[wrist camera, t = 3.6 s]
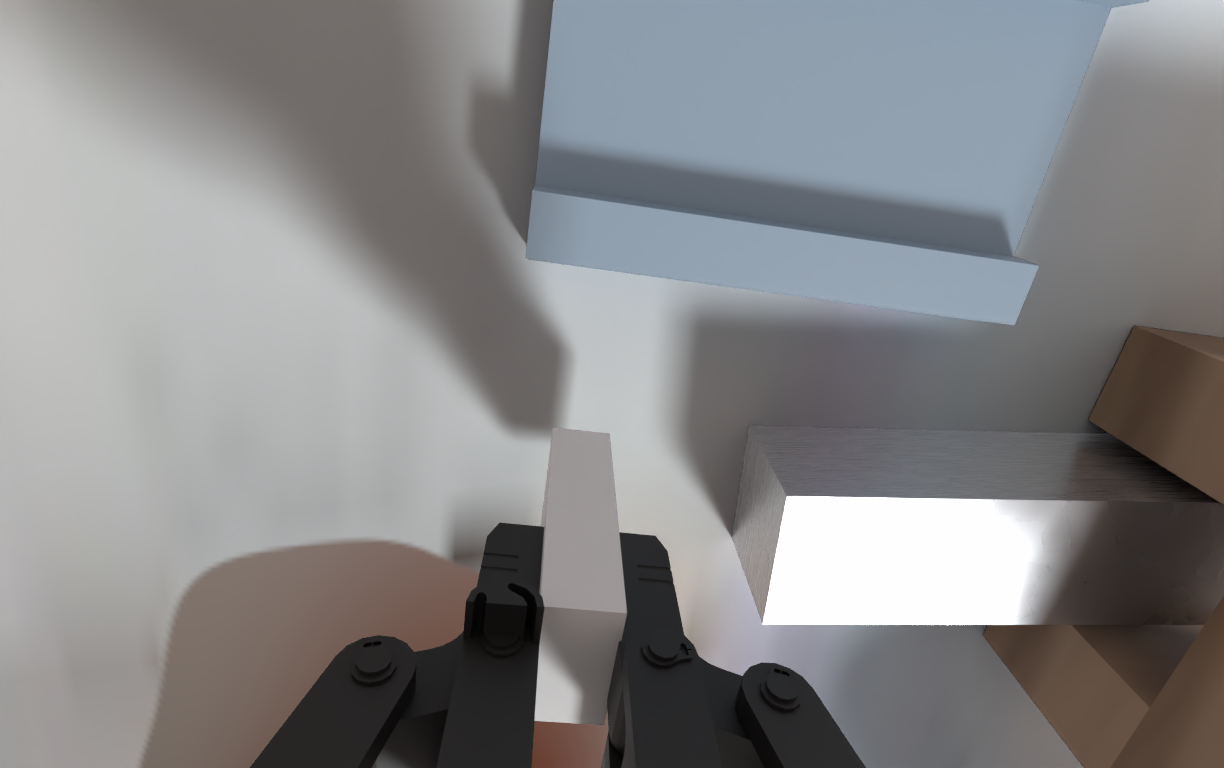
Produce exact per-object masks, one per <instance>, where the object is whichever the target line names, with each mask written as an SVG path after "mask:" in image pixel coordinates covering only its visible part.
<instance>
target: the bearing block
mask: <svg viewBox="0 0 1224 768" xmlns="http://www.w3.org/2000/svg"><path fill="white" fill-rule="evenodd" d="M1088 420H1089V421H1090V422H1092V423H1094V424H1095V425H1097V426H1098V427H1100V428H1102V429H1103V430H1105V431H1106V432H1108V433H1110V434H1111V435H1113V436H1114V437H1116V438H1118V439H1119V440H1121V441H1122V442H1124V443H1126V444H1127V445H1129V446H1130V447H1132V448H1134V449H1135V450H1137V451H1138V452H1140V453H1142V454H1143V455H1145V456H1146V457H1148V458H1150V459H1151V460H1153V461H1154V462H1156V463H1158V464H1159V465H1161V466H1163V467H1164V468H1166V469H1167V470H1169V471H1171V472H1172V473H1174V474H1175V475H1177V476H1179V477H1180V478H1182V479H1183V480H1185V481H1187V482H1188V483H1190V484H1191V485H1193V486H1195V487H1196V488H1198V489H1199V490H1201V491H1203V492H1204V493H1206V494H1207V495H1209V496H1211V497H1212V498H1214V499H1215V500H1217V501H1219V502H1220V503H1222V504H1223V505H1224V338H1219V337H1212V336H1205V335H1198V334H1191V333H1184V332H1177V331H1169V330H1162V329H1155V328H1148V327H1141V326H1134V327H1133V329H1132V331H1131V333H1130V335H1129V337H1128V339H1127V341H1126V343H1125V345H1124V347H1123V349H1122V351H1121V353H1120V355H1119V357H1118V360H1117V362H1116V364H1115V366H1114V368H1113V370H1112V372H1111V374H1110V376H1109V378H1108V380H1107V382H1106V384H1105V386H1104V388H1103V390H1102V392H1101V394H1100V396H1099V398H1098V400H1097V402H1096V405H1095V407H1094V409H1093V411H1092V413H1091V415H1090V417H1089V419H1088ZM983 636H984V637H985V639H986V640H987V641H988V643H989V644H990V645H991V647H992V648H993V649H994V650H995V652H996V653H997V654H998V656H999V657H1000V658H1001V660H1002V661H1003V662H1004V664H1005V665H1006V666H1007V668H1008V669H1009V670H1010V672H1011V673H1012V674H1013V675H1014V677H1015V678H1016V679H1017V681H1018V682H1019V683H1020V685H1021V686H1022V687H1023V689H1024V690H1025V691H1026V693H1027V694H1028V695H1029V696H1030V698H1031V699H1032V700H1033V702H1034V703H1035V704H1036V706H1037V707H1038V708H1039V710H1040V711H1041V712H1042V714H1043V715H1044V716H1045V718H1046V719H1047V720H1048V721H1049V723H1050V724H1051V725H1052V727H1053V728H1054V729H1055V731H1056V732H1057V733H1058V735H1059V736H1060V737H1061V739H1062V740H1063V741H1064V742H1065V744H1066V745H1067V746H1068V748H1069V749H1070V750H1071V752H1072V753H1073V754H1074V756H1075V757H1076V758H1077V760H1078V761H1079V762H1080V764H1081V765H1082V766H1083V767H1084V768H1224V596H1223V597H1222V599H1221V600H1220V602H1219V603H1218V605H1217V606H1216V608H1215V610H1214V611H1213V613H1212V614H1211V616H1210V617H1209V619H1208V620H1207V622H1206V623H1205V625H987V627H986V630H985V632H984V634H983Z"/></svg>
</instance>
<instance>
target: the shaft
mask: <svg viewBox="0 0 1224 768" xmlns="http://www.w3.org/2000/svg"><path fill="white" fill-rule="evenodd" d="M732 539H733V542H734V545H735V548H736V551H737V553H738V556H739V559H740V562H741V564H742V567H743V570H744V573H745V576H746V578H747V581H748V584H749V587H750V590H751V592H752V595H753V598H754V601H755V604H756V606H757V609H758V612H759V615H760V618H761V620H762V623H763V624H859V625H1205V623H1206V622H1207V620H1208V619H1209V617H1210V616H1211V614H1212V613H1213V611H1214V610H1215V608H1216V606H1217V605H1218V603H1219V602H1220V600H1221V599H1222V597H1223V596H1224V505H1223V504H1222V503H1220V502H1219V501H1217V500H1215V499H1214V498H1212V497H1211V496H1209V495H1207V494H1206V493H1204V492H1203V491H1201V490H1199V489H1198V488H1196V487H1195V486H1193V485H1191V484H1190V483H1188V482H1187V481H1185V480H1183V479H1182V478H1180V477H1179V476H1177V475H1175V474H1174V473H1172V472H1171V471H1169V470H1167V469H1166V468H1164V467H1163V466H1161V465H1159V464H1158V463H1156V462H1154V461H1153V460H1151V459H1150V458H1148V457H1146V456H1145V455H1143V454H1142V453H1140V452H1138V451H1137V450H1135V449H1134V448H1132V447H1130V446H1129V445H1127V444H1126V443H1124V442H1122V441H1121V440H1119V439H1118V438H1116V437H1114V436H1113V435H1111V434H1096V433H1053V432H1010V431H967V430H924V429H881V428H838V427H795V426H752V425H749V429H748V435H747V442H746V448H745V455H744V462H743V468H742V475H741V481H740V488H739V494H738V501H737V508H736V514H735V521H734V527H733V534H732Z"/></svg>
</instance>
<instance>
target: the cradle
mask: <svg viewBox="0 0 1224 768" xmlns="http://www.w3.org/2000/svg"><path fill="white" fill-rule="evenodd" d="M1148 1H1149V0H554V1H553V11H552V21H551V30H550V40H549V50H548V60H547V70H546V80H545V90H544V100H543V110H542V120H541V130H540V139H539V149H538V159H537V169H536V179H535V186H534V188H533V190H532V198H531V208H530V218H529V228H528V238H527V248H526V258H527V259H529V260H536V261H544V262H551V263H558V264H566V265H573V266H580V267H587V268H595V269H602V270H609V271H616V272H624V273H631V274H638V275H646V276H653V277H660V278H667V279H675V280H682V281H689V282H697V283H704V284H711V285H718V286H726V287H733V288H740V289H747V290H755V291H762V292H769V293H777V294H784V295H791V296H798V297H806V298H813V299H820V300H827V301H835V302H842V303H849V304H857V305H864V306H871V307H878V308H886V309H893V310H900V311H908V312H915V313H922V314H929V315H937V316H944V317H951V318H958V319H966V320H973V321H980V322H992V323H1000V324H1007V325H1014V326H1015V323H1016V321H1017V318H1018V316H1019V314H1020V311H1021V309H1022V306H1023V304H1024V301H1025V299H1026V297H1027V294H1028V292H1029V289H1030V287H1031V284H1032V282H1033V280H1034V277H1035V275H1036V272H1037V270H1038V268H1039V265H1036V264H1033V263H1030V262H1027V261H1025V260H1022V259H1019V258H1016V257H1013V256H1014V253H1015V251H1016V248H1017V246H1018V243H1019V241H1020V238H1021V236H1022V233H1023V230H1024V228H1025V225H1026V223H1027V220H1028V218H1029V215H1030V213H1031V210H1032V208H1033V205H1034V203H1035V200H1036V198H1037V195H1038V193H1039V190H1040V187H1041V185H1042V182H1043V180H1044V177H1045V175H1046V172H1047V170H1048V167H1049V165H1050V162H1051V160H1052V157H1053V155H1054V152H1055V150H1056V147H1057V144H1058V142H1059V139H1060V137H1061V134H1062V132H1063V129H1064V127H1065V124H1066V122H1067V119H1068V117H1069V114H1070V112H1071V109H1072V107H1073V104H1074V101H1075V99H1076V96H1077V94H1078V91H1079V89H1080V86H1081V84H1082V81H1083V79H1084V76H1085V74H1086V71H1087V69H1088V66H1089V63H1090V61H1091V58H1092V56H1093V53H1094V51H1095V48H1096V46H1097V43H1098V41H1099V38H1100V36H1101V33H1102V31H1103V28H1104V26H1105V23H1106V20H1107V18H1108V15H1109V13H1110V10H1111V8H1114V7H1120V6H1125V5H1131V4H1137V3H1143V2H1148Z"/></svg>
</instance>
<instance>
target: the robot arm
mask: <svg viewBox="0 0 1224 768" xmlns="http://www.w3.org/2000/svg"><path fill="white" fill-rule="evenodd" d="M670 568H671V567H670V562H669V557H668V552H667V550H666V549H665V548H664V546H663V545H662V544H661V542H660V541H659V540H658V539H657V537H656V536H651V535H640V534H630V533H619V525H618V515H617V504H616V494H615V484H614V474H613V463H612V453H611V443H610V434H608V433H599V432H590V431H581V430H572V429H563V428H554V427H553V432H552V440H551V448H550V455H549V463H548V471H547V479H546V487H545V494H544V502H543V510H542V519H541V527H539V526H529V525H518V524H508V523H499V524H498V525H497V526H496V527H495V528H494V529H493V531H492V532H491V533H490V534H489V535H488V536H487V540H486V545H485V550H484V556H483V560H482V564H481V569H480V574H479V579H478V584H477V587H476V588H475V589H473V590H472V591H471V593H470V595H469V597H468V598H467V601H466V609H465V622H464V631H463V632H462V634H461V635H459V636H458V637H457V638H456V639H454V640H453V641H451V642H449V643H447V644H445V645H443V646H440V647H436V648H433V649H429V650H424V651H418V652H414V651H413V650H412V649H411V648H410V647H409V646H408V644H407V643H405V642H403V641H401V640H399V639H397V638H395V637H387V636H373V637H367V638H362V639H360V640H358V641H356V642H354V643H352V644H349V645H347V646H346V647H345V648H344V649H343V650H342V651H341V652H340V653H339V654H338V655H337V656H336V657H335V658H334V659H333V661H332V662H331V663H330V664H329V666H328V667H327V668H326V670H325V671H324V672H323V673H322V675H321V676H320V677H319V679H318V680H317V681H316V683H315V684H314V685H313V686H312V688H311V689H310V690H309V692H308V693H307V694H306V696H305V697H304V698H303V699H302V701H301V702H300V703H299V705H298V706H297V707H296V708H295V710H294V711H293V712H292V714H291V715H290V716H289V718H288V719H287V720H286V722H285V723H284V724H283V726H282V727H281V728H280V729H279V731H278V732H277V733H276V734H275V736H274V737H273V738H272V740H271V741H270V742H269V744H268V745H267V746H266V747H265V749H264V750H263V751H262V753H261V754H260V755H259V757H258V758H257V759H256V760H255V762H254V763H253V764H252V766H251V767H250V768H531V764H532V749H533V734H534V721H548V722H563V723H579V724H596V725H604V723H605V719H606V714H607V709H608V725H609V732H608V736H607V741H606V746H605V751H604V756H603V760H602V765H601V768H866V767H865V766H864V764H863V763H862V761H861V760H860V758H859V757H858V755H857V754H856V752H855V751H854V749H853V748H852V746H851V745H850V743H849V742H848V740H847V739H846V737H845V736H844V734H843V733H842V731H841V730H840V728H839V727H838V725H837V724H836V722H835V721H834V719H833V718H832V716H831V715H830V713H829V712H828V710H827V709H826V707H825V706H824V704H823V703H822V701H821V700H820V698H819V697H818V695H817V694H816V692H815V691H814V689H813V688H812V687H811V686H810V685H809V684H808V682H807V681H806V680H805V679H804V678H803V677H802V676H800V675H799V674H797V673H796V672H794V671H793V670H791V669H790V668H787V667H784V666H781V665H778V664H775V663H760V664H757V665H754V666H751V667H750V668H749V669H748V670H747V671H746V672H745V673H744V675H743V676H740V675H737V674H735V673H732V672H729V671H726V670H723V669H720V668H718V667H716V666H714V665H711V664H709V663H708V662H706V661H705V660H703V659H702V658H700V657H699V656H698V654H697V652H696V649H695V647H694V645H693V644H692V643H691V642H690V641H689V640H688V639H687V638H686V637H685V635H684V632H683V627H682V622H681V617H680V612H679V607H678V602H677V597H676V592H675V587H674V585H673V577H672V572H671V571H670Z"/></svg>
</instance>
